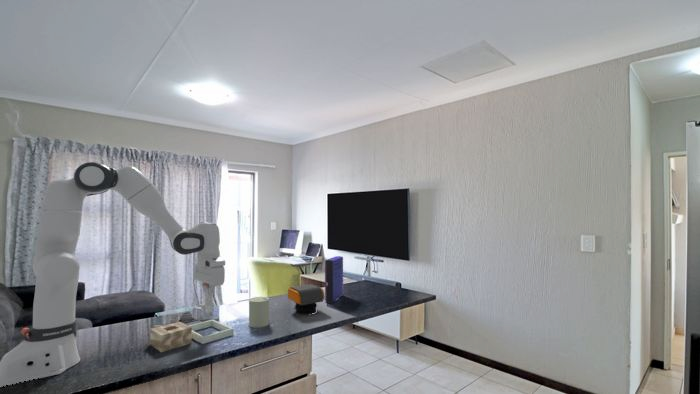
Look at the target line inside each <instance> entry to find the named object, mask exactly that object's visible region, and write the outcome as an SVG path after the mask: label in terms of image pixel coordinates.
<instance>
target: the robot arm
mask: <svg viewBox="0 0 700 394" xmlns="http://www.w3.org/2000/svg"><path fill="white" fill-rule="evenodd" d="M109 190H110V191H111V190H112V191H115V192H117V193H118V194H120V195H121V196H122V197H123V199H124V200H125V201H126V202H127V203H128V204H129V205H130V206H131V207H132V208H134V209H135V210H136V211H137V212H139V213H140V214H141V215H144V216H145V217H147V218H149V219H150V220H152V221H153V222H155V223H156V224H157V226H159V228H160V229H161V230H162V231H163V232H164V234H166V236H167V237H168V239H169V242H170V243H169V244H170V246H171V248H172V250H174V251H175V252H176V253H178V254H180V255H185V256H186V255H191V254H194V253H196V255H197V256H196V263H195V265H194V270H193V272H194V275H193V278H194V280H195V281H197V282H201V287H202V292H203V293H204V285H205V283H207V284H209V287H210V288H209V290H208V294H210V295H212V294H213V295H214V294H215V288H216V287H217V286H218V287H219V286H222V285H224V283H225V278H226V277H225V273H226V272H225V271H226V270H225V266H226V260H225V259H224V258H222V256H221V255H220V254H221V253H220V241H221V240H220V239H221V237H220V235H221V234H220V229H219V226H218V225H217V224H216V223H212V222H206V221H201V222H199V223H198V224H196V225H194V226H193V227H190V228H188V229H186V228H184V227H183V226H182V225H180V224H179V222H178V221H177V220H176V219H175V217H173V215H171V213H170V212H169V211H168V209H167V206H166V203H165V200H164V198H163V196H162V194H161V192H160V190H159V189H158V188H157V186H156V185H155V184H154V183H153V182H152V181H151V180H150V179H149V178H148V177H147V176H146V175H145V174H144V173H142V171H140V170H139V169H138V168H136V167H135V166H132V165H125V166H121V167H120V168H118V169H115V168H114V167H110V166H109V165H107V164H106V165H105V164H103V163H101V162H95V161H91V162H90V161H89V162H84V163H82V164H80V165H79V166H78V167H77V168H76V169H75V170H74V173H73V177H72V178H70V179H69V178H68V179H63V178H62V179H61V178H60V179H56V180H55V179H54V180H52V181H51V182H49V183H48V184H47V186H46V189H45V191H44V194H43V196H42V197H43V198H42V203H41V207H40V209H41V210H40V215H39V225H38V233H37V238H36V243H35V249H34V255H33V261H32V272H33V274H34V275H35V287H34V288H35V289H34V297H33V303H32V304H33V305H32V327H24V328H22V329H21V331H20V333H21V335H23V340H22V342H20V343H19V344H17V345H16V346H15V347H13V348H12V349H11V350H9V351H8V352H7V353H5V354H4V355H3V356H2V358H1V359H0V388H2V387H3V386H4V387H7V386H6V385H8V386H12V384H13V385H16V383H17V384H20V383H19V382H21V383H25V382H24V381H26V382H29V380H30V381H34V380H33V379H35V380H38V378H39V379H43V378H47V377H51V376H55V375H60V374H62V373H64V372H66V370H68V369H70V368H72V367H74V366H75V365H77V364H78V363H79V362H80V361H81V357H80V355H79V351H78V346H77V340H76V339H77V333H78V323H77V322H78V321H77V320H76V308H77V307H76V304H77V292H78V285H79V279H80V269H81V268H80V266H81V265H80V262H79V259H78V258H77V257H76V256H75V254H76V251H77V244H78V241H79V237H80V234H81V227H82V217H83V216H82V215H83V205H84V201H85V198H86V197H90V196H95V195H101V194H105V193H106V192H109Z"/></svg>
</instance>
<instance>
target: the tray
mask: <svg viewBox="0 0 700 394" xmlns="http://www.w3.org/2000/svg"><path fill="white" fill-rule="evenodd" d="M188 326H190V327H191V328H192V339H193V340H195V341H196V342H198V343H200V344H202V345H203V344H207V343H210V342H213V341H217V340H220V339H224V338H226V337H227V338H228V337H230V336H231V337H234V327H231V326H229V325H227V324H224V323H222V322H219V321H215V320H209V321H205V322H201V321H200V322H198V323H194V324H190V325H188ZM210 327H211V328H214V329H216V330H219V331H217V332H213V333H211V334H207V335H202V334H200V333H198V332H197V331H199V330H203V329H206V328H210Z"/></svg>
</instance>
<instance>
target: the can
mask: <svg viewBox="0 0 700 394" xmlns="http://www.w3.org/2000/svg"><path fill="white" fill-rule="evenodd" d="M269 325H270V297H268V296H255V297H251V298H250V299H248V327H250V328H255V329H258V328H259V329H261V328H265V327H268V326H269Z"/></svg>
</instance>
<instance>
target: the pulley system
mask: <svg viewBox="0 0 700 394" xmlns="http://www.w3.org/2000/svg"><path fill="white" fill-rule="evenodd" d="M196 316H197V317H196V318H194V316H193V312H191V311H189V312H183V313H181V314H180V316H179V313H172V314H170V320H169V321H170V323H166V324H165V323H164V324H156V325H153V328H156V327H160V326H164V325H168V324H172V323H176V322H182V323H184V324H187V323H189V324H192V323H194V322H198V321H199V322H200V323H201V322H205V321H209V320H215V321H217V322H219V320H220V319H219V317H213V318H205V317H204V315H203V314H201V315H196Z"/></svg>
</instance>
